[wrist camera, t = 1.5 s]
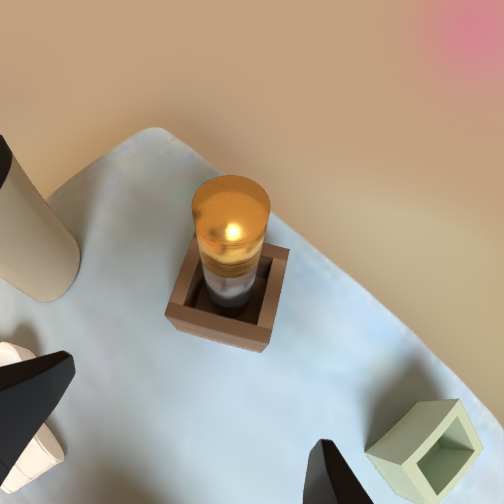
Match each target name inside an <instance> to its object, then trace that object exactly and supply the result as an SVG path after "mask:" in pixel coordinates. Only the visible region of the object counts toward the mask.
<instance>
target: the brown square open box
mask: <svg viewBox="0 0 504 504" xmlns="http://www.w3.org/2000/svg"><path fill="white" fill-rule="evenodd" d="M289 250H290V249H286V248H282V247H278V246H274V245H270V244H266V243H263V245H262V249H261V254H260V258H259V263H258V267H257V271H256V276H255V280H254V284H253V289H252V293H251V298H250V302H249V306H248V308H247V310H246V311H245V312H244V313H243V314H242V315H240V316H238V317H236V318H226V317H222V316H219V315H218V314H217V313H216V312H215V311H214V310H213V309H212V307H211V304H210V300H209V295H208V290H207V286H206V281H205V276H204V271H203V266H202V261H201V256H200V251H199V246H198V240H197V235H196V231H195V233H194V236H193V239H192V241H191V244H190V246H189V249H188V251H187V254H186V256H185V259H184V262H183V264H182V267H181V270H180V272H179V275H178V278H177V280H176V283H175V286H174V289H173V291H172V294H171V297H170V300H169V303H168V306H167V308H166V311H165V314H164V315H165V316H166V317H167V319H168V320H169V321H170V322H171V323H172V324H173V325H174V326H175V328H176V329H177V330H179V331H182V332H186V333H189V334H192V335H195V336H199V337H202V338H206V339H209V340H213V341H216V342H220V343H223V344H227V345H231V346H235V347H238V348H242V349H246V350H250V351H255V352H259V353H261V352H262V351H263V350H264V349H265V348H266V347H267V346H268V344H269V341H270V337H271V333H272V329H273V324H274V320H275V315H276V311H277V306H278V302H279V297H280V293H281V288H282V283H283V279H284V274H285V269H286V264H287V260H288V255H289Z"/></svg>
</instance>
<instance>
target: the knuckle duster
mask: <svg viewBox="0 0 504 504" xmlns="http://www.w3.org/2000/svg"><path fill="white" fill-rule="evenodd" d="M33 358H36V356H35V355H34V354H33V353H32V352H31V351H30V350H28V349H26V348H23V347H20V346H17V345H14V344H12V343H9V342H0V367H1V366H5V365H9V364H13V363H16V362H17V361H18V362H21V361H25V360H29V359H33ZM62 461H64V453H63V450H62V448H61V446H60V444H59V443H58V441H57V440H56V438H55V437H54V435H53V434H52V432H51V431H50V429H49V428H48V427H47V426H46V424H45V423H43V424H42V426H41V427H40V429H39V430H38V431H37V433H36V434H35V436H34V437H33V438H32V440H31V441H30V443H29V444H28V446H27V447H26V448H25V450H24V451H23V453H22V454H21V456H20V457H19V459H18V460H17V462H16V463H15V465H14V466H13V468H12V469H11V471H10V473H9V474H8V476H7V477H6V479H5V480H4V482H3V484H2V485H1V488H2V489H3V490H4V491H5V492H7V493H9V494H11V493H13V492H16V491H17V490H18V489H19V488H21V487H23V486H24V485H26V484H27V483H29V482H31V481H32V480H35V479H37V478H38V476H40V475H41V474H43V473H45V472H46V471H48V470H49V469H51V468H52V467H54V466H55V465H56V464H58V463H61V462H62Z"/></svg>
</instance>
